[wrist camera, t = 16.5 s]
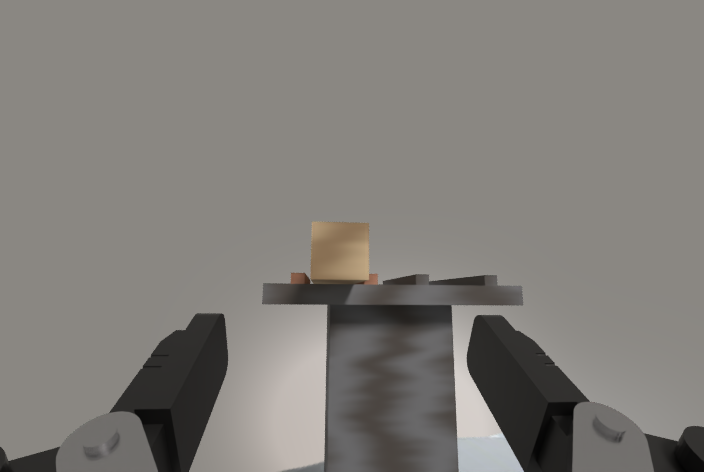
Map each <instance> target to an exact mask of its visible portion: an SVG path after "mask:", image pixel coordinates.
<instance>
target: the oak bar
mask: <svg viewBox="0 0 704 472" xmlns="http://www.w3.org/2000/svg"><path fill="white" fill-rule="evenodd" d="M311 245H312V246H311V248H312V249H311V281H312V282H313V283H314V284H357V283H360V282H364V281H367V280H369V223H346V222H344V223H343V222H312V244H311Z"/></svg>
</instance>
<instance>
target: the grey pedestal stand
mask: <svg viewBox="0 0 704 472" xmlns="http://www.w3.org/2000/svg"><path fill="white" fill-rule="evenodd" d="M377 277H378V276H377V274H369V280H367V281H364V282H360V283H357V284H310V279H309V278H308V277H307V275H306V274H305V273H291V284H270V283H264V284H263V300H262V301H263V302H262V304H327V305H328V307H327V308H328V310H327V359H326V360H327V361H326V411H325V463H324V472H458V449H457V426H456V401H455V378H454V357H453V332H452V307H451V305H523V297H522V287H521V286H497V276H496V275H484V276H474V277H465V278H456V279H448V280H439V281H430V282H429V275H419V274H418V275H417V274H416V275H411V276H406V277H401V278H397V279H391V280H386V281H383V285H378V280H377Z"/></svg>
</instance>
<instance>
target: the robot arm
mask: <svg viewBox="0 0 704 472" xmlns="http://www.w3.org/2000/svg"><path fill="white" fill-rule="evenodd" d="M226 339H227V338H226V327H225V318H224V315H223V314H201V313H200V314H199V313H198V314H196V315H195V316H194V317H193V319H192V320H191V322H190V324H189V325H188V327H187V328H186V330H183V331H182V330H176V331H175V332H173V333H172V334H171V335H169V336H168V337H166V338H165V339H164V340H162V341H161V342H160V343H159V345H158V346H157V347H156V349H155V350H154V351H153V353H152V354H151V358H148V360H147V361H146V363H145V364H144V365H143V369H141V370H140V371H139V372H138V374H137V375H136V376H135V378H134V379H133V381H132V382H131V383H130V385H129V386H128V388H127V389H126V390H125V392H124V393H123V394H122V396H121V397H120V399H119V400H118V401H117V403H116V405H115V406H114V407H113V408H112V410H111V411H110V413H108V414H104V415H101V416H99V417H96V418H94V419H92V420H90V421H88V422H87V423H85V424H83V425H82V426H80V427H79V428H78V429H76V430H75V431H74V432H73V433H72V434H70V435H69V436H68V438H67V439H66V440H65V441H64V442H63V444H62V445H61V447H57V448H54V449H51V450H47V451H44V452H40V453H36V454H33V455H29V456H26V457H22V458H18V459H15V460H11V461H8V459H7V457H6V454H5V452H4V450H3V449H2V448H1V447H0V472H189V470H190V467H191V465H192V462H193V459H194V457H195V454H196V451H197V449H198V446H199V444H200V441H201V438H202V436H203V433H204V430H205V428H206V425H207V423H208V420H209V417H210V415H211V412H212V409H213V407H214V404H215V401H216V399H217V396H218V394H219V391H220V389H221V386H222V383H223V381H224V378H225V375H226V371H227V365H228V350H227V340H226ZM467 366H468V370H469V373H470V375H471V377H472V378H473V380H474V382H475V384H476V386H477V388H478V389H479V391H480V393H481V395H482V397H483V398H484V400H485V402H486V404H487V406H488V407H489V409H490V411H491V413H492V414H493V416H494V418H495V420H496V422H497V423H498V425H499V427H500V429H501V431H502V432H503V434H504V436H505V438H506V440H507V441H508V443H509V445H510V447H511V449H512V450H513V452H514V454H515V456H516V458H517V459H518V461H519V463H520V465H521V467H522V468H523V470H524V472H704V427H699V426H691V427H687V428H686V429H685V430H684V432H683V434H682V435H681V437H680V439H679V441H674V440H670V439H665V438H661V437H657V436H653V435H649V434H644V433H643V432H642V431H641V430H640V428H639V427H638V426H637V425H636V424H635V423H634V422H633V421H632V420H630V419H629V418H628V417H626V416H625V415H623V414H622V413H620V412H618V411H616V410H615V409H613V408H610V407H608V406H605V405H603V404H599V403H595V402H590V401H589V400H588V399H587V398H586V397H585V396H584V395H583V393H581V391H580V390H579V389H578V388H577V387H576V386H575V385H574V384H573V383H572V382H571V381H570V379H569V378H568V377H567V376H566V375H565V374H564V373H563V372H562V371H561V370H560V368H558V366H555V364H554V362H553V361H552V360H551V359H550V358H549V357H548V356H546V355H545V352H544V351H543V350H542V349H541V348H540V347H539V346H538V345H537V344H536V343H535V341H533V340H532V339H530V338H529V337H527V336H525V335H524V334H523V333H521V332H520V331H515V329H514V328H513V327H512V326H511V325H510V324H509V323H508V321H507V320H506V319H505V318H504V317H503V316H501V315H478V316H476V317H475V319H474V323H473V328H472V332H471V337H470V342H469V347H468V352H467Z"/></svg>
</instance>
